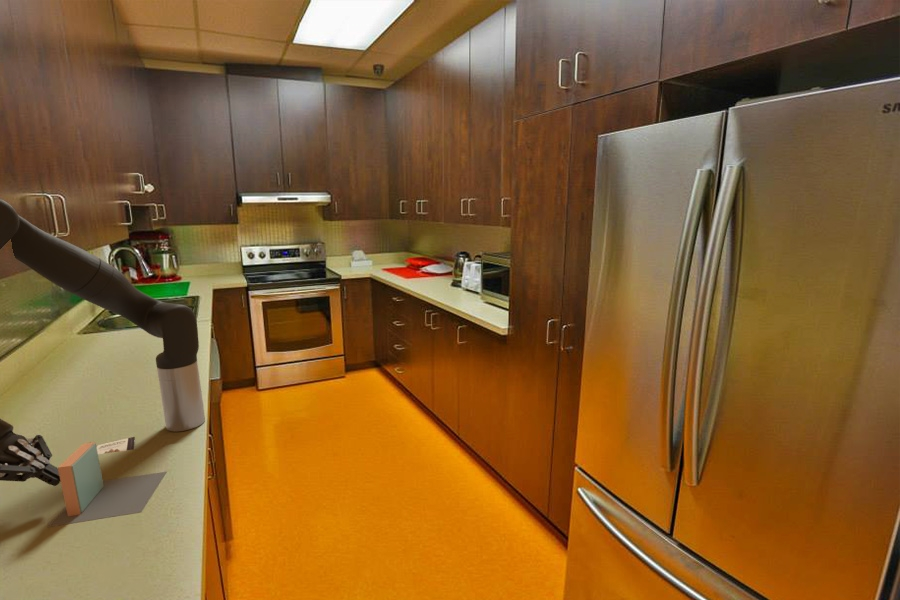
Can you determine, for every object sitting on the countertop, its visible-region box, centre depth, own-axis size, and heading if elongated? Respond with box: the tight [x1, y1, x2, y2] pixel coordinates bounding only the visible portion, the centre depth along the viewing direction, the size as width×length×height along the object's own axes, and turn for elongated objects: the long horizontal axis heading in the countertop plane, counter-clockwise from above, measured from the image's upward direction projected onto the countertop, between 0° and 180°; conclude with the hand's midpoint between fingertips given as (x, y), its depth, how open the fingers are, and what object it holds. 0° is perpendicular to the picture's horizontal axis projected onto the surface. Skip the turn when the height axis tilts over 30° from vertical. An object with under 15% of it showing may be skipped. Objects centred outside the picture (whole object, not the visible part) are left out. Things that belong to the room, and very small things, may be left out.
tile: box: [57, 441, 104, 516], centre depth 88 cm, size 9×2×10 cm, turn 14°
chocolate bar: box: [96, 436, 136, 455], centre depth 105 cm, size 9×1×18 cm
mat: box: [47, 471, 168, 528], centre depth 90 cm, size 14×15×1 cm
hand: (61, 480), depth 87 cm, fingers closed
